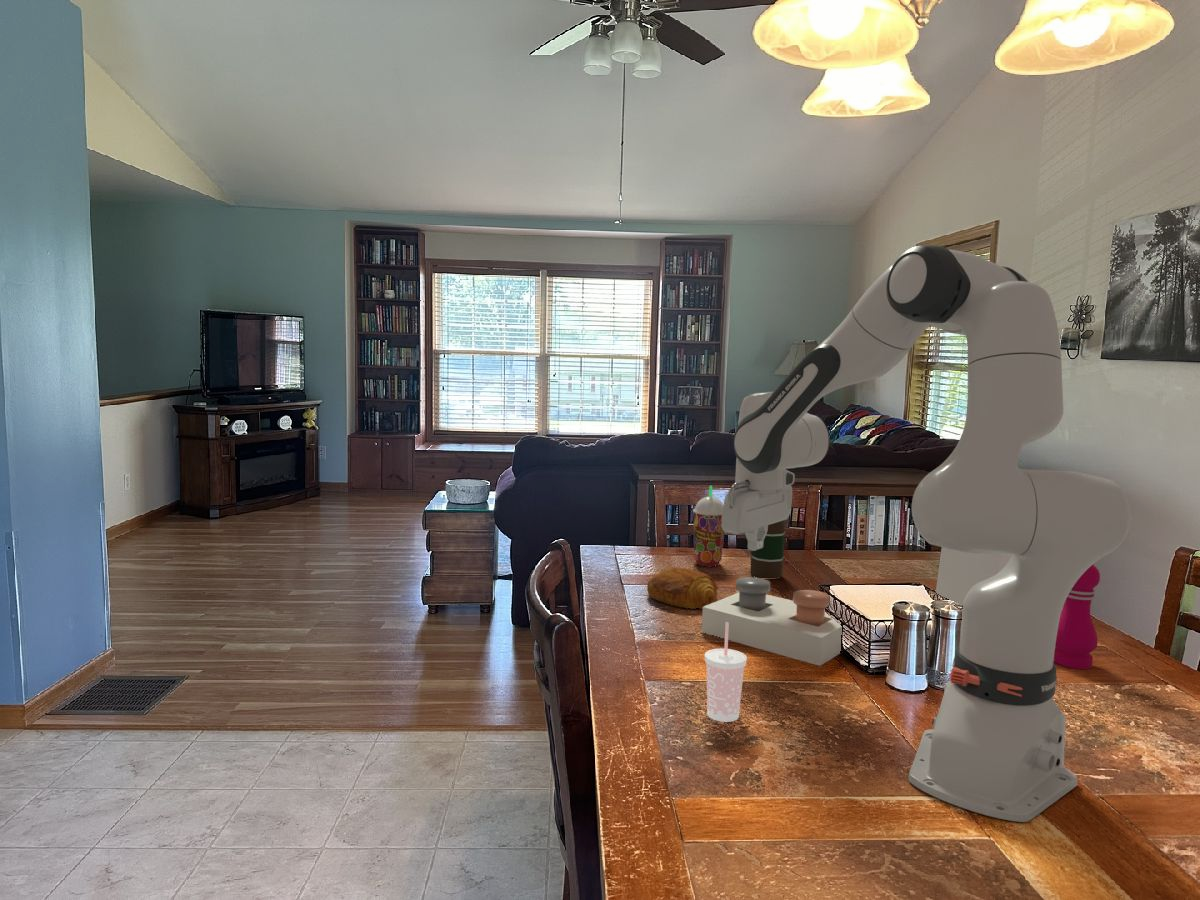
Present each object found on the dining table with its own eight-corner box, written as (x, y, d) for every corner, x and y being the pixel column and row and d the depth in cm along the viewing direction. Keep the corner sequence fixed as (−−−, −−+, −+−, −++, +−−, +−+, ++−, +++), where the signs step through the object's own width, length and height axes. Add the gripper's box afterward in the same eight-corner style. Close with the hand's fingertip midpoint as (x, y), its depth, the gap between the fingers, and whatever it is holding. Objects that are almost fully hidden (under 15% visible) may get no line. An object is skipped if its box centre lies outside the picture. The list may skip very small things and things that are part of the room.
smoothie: (689, 567, 203) (693, 487, 201) (691, 559, 211) (694, 482, 209) (724, 569, 202) (727, 489, 199) (724, 561, 210) (728, 484, 208)
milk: (931, 620, 167) (941, 494, 164) (952, 608, 175) (962, 488, 172) (994, 635, 159) (1005, 502, 156) (1013, 621, 167) (1024, 496, 164)
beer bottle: (785, 580, 193) (791, 480, 190) (752, 579, 193) (757, 479, 190) (779, 572, 201) (784, 475, 198) (747, 571, 201) (752, 474, 198)
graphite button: (758, 622, 153) (759, 588, 153) (728, 614, 157) (730, 581, 157) (774, 614, 158) (776, 581, 157) (745, 607, 162) (747, 575, 161)
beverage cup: (694, 709, 122) (698, 618, 120) (729, 703, 125) (733, 614, 123) (715, 727, 117) (720, 631, 115) (752, 720, 119) (757, 626, 117)
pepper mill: (1101, 672, 141) (1113, 558, 139) (1056, 668, 142) (1066, 555, 140) (1086, 657, 148) (1096, 548, 146) (1042, 653, 149) (1052, 545, 147)
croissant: (686, 625, 167) (691, 589, 165) (634, 596, 178) (638, 562, 176) (732, 610, 176) (738, 575, 174) (680, 584, 187) (684, 551, 185)
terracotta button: (818, 638, 146) (820, 602, 145) (785, 629, 150) (787, 594, 149) (833, 629, 151) (835, 594, 150) (801, 621, 155) (803, 587, 154)
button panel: (819, 665, 141) (821, 637, 140) (701, 632, 156) (702, 606, 155) (857, 642, 153) (859, 616, 152) (744, 613, 168) (745, 589, 167)
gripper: (745, 486, 145) (741, 562, 147) (799, 474, 160) (795, 543, 162) (714, 481, 149) (711, 556, 151) (770, 470, 164) (766, 537, 166)
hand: (755, 549), depth 157 cm, fingers closed
